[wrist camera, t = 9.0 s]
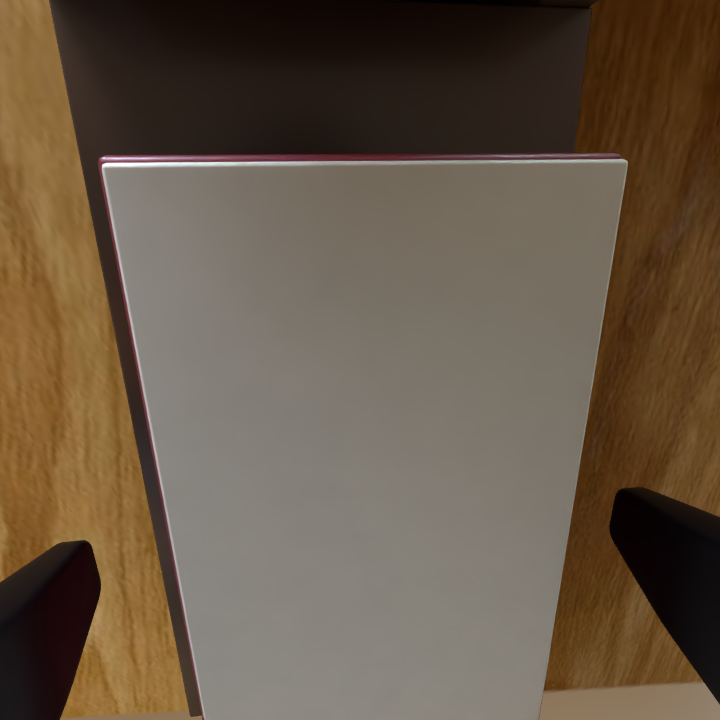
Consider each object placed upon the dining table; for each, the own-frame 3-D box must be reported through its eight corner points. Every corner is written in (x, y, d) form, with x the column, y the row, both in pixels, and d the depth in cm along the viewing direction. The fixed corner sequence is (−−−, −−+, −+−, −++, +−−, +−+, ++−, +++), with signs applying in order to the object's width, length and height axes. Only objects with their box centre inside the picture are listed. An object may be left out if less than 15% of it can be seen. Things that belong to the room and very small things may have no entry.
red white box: (454, 609, 14) (532, 812, 9) (248, 635, 13) (221, 867, 8) (483, 174, 10) (645, 148, 5) (190, 178, 9) (80, 151, 4)
